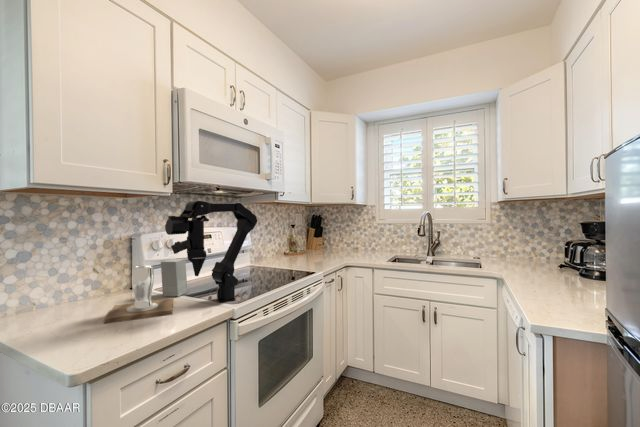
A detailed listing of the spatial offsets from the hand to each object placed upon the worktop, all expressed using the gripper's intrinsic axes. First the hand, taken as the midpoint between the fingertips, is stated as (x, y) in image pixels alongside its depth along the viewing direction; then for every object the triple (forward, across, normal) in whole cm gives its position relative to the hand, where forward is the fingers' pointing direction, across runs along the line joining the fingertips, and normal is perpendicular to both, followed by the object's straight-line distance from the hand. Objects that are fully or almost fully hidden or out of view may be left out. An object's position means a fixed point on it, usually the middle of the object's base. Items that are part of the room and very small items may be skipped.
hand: (196, 273), depth 111 cm
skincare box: (+13, -24, -8) cm, 29 cm away
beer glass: (+12, -4, -18) cm, 22 cm away
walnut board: (+13, -4, -18) cm, 23 cm away
